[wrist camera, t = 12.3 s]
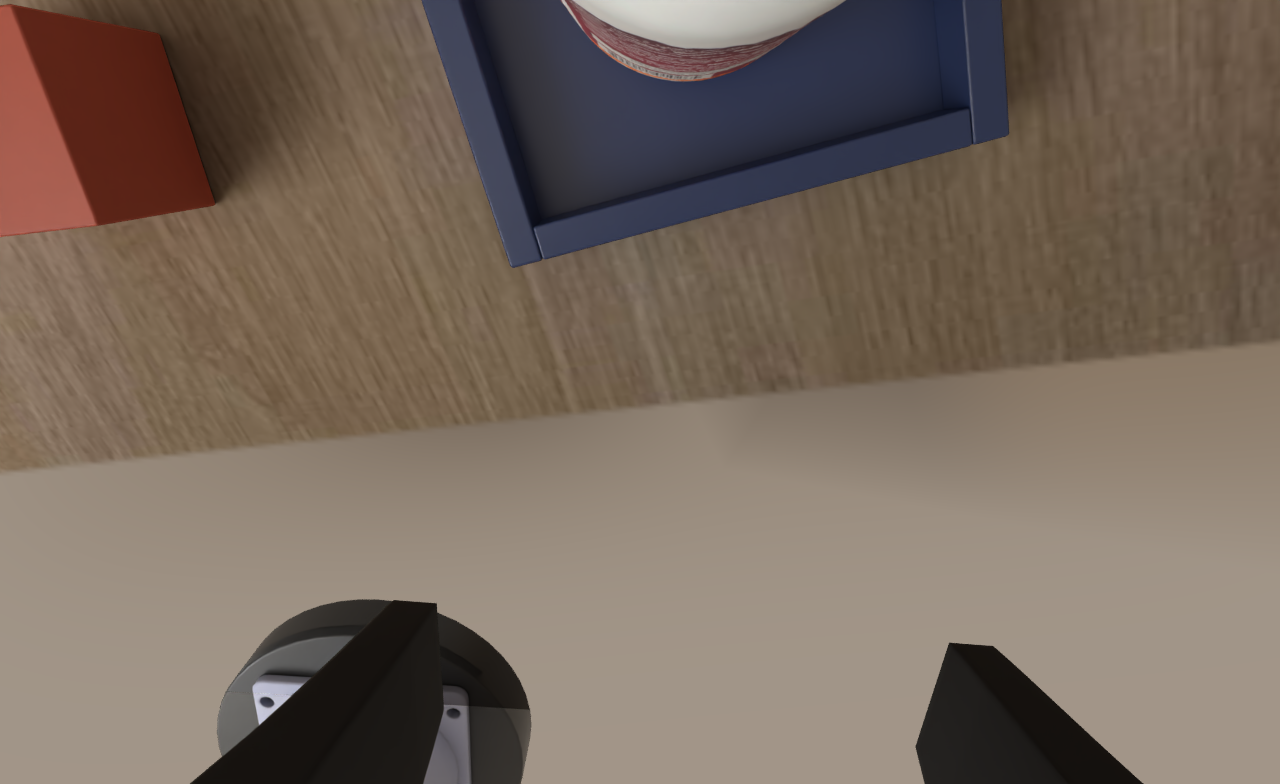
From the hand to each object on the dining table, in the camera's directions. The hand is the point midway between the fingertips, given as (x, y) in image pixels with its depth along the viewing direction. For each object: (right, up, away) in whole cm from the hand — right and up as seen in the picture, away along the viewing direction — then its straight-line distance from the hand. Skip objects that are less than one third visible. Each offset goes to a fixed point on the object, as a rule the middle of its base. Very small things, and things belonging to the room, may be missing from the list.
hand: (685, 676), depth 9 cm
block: (-14, +11, +7) cm, 19 cm away
